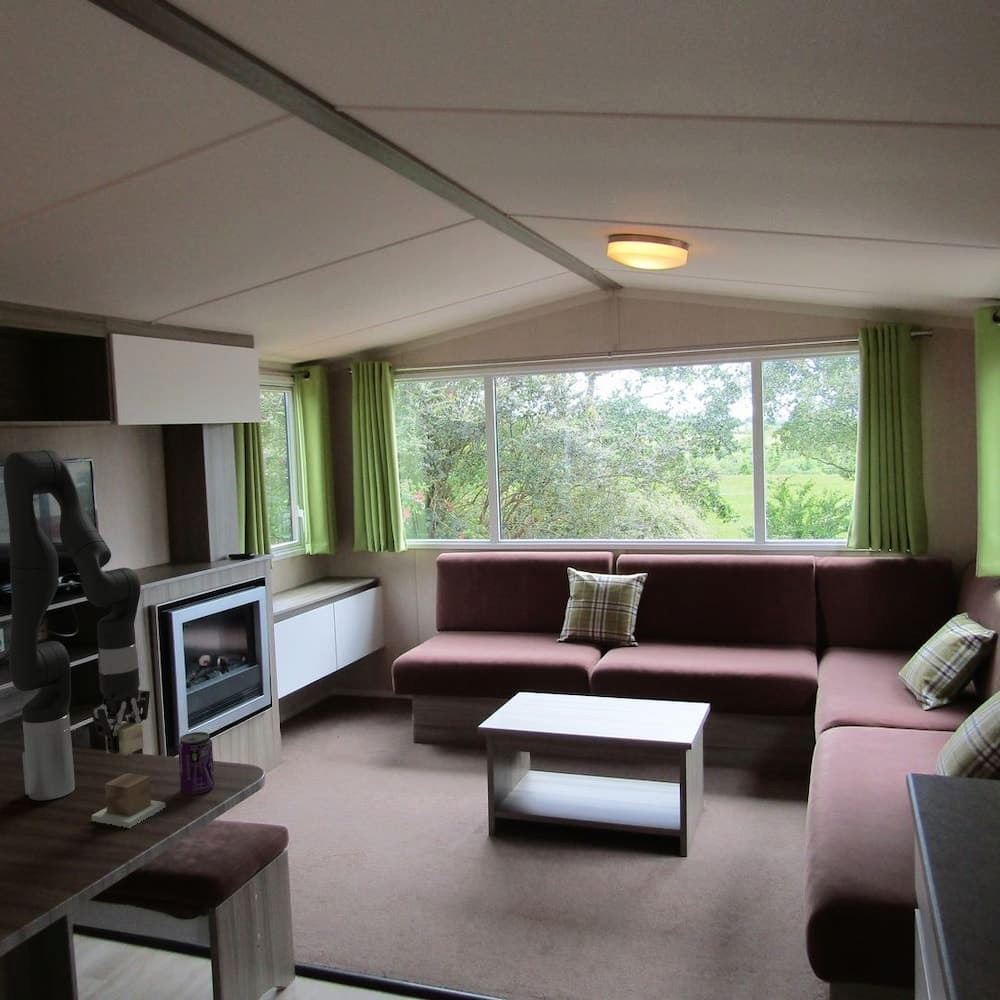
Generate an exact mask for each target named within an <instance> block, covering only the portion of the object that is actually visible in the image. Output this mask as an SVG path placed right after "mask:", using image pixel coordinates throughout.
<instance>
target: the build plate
mask: <svg viewBox="0 0 1000 1000" xmlns="http://www.w3.org/2000/svg"><path fill="white" fill-rule="evenodd" d="M163 808H165V809H166V801H165V802H163V801H158V800H152V799H151V805H149V806H148V807H146V808H144V809H142V810H140V811H138V812H137V813H135V814H133V815H131V816H124V815H119V814H114V813H109V812H107V807H105V808H103V809H101V810H99V811H97V812H95V813H94V814H91V821H92V822H95V821H96V823H99V824H105V823H106V825H110V824H112V826H115V825H116V826H117V827H121V826H123V827H122V828H126V827H127V829H131V828H133V827H135V826H136V825H138V824H139V823H142V822H144V821H146V820H147V819H149V818H150V816H151V817H152V816H154V815H156V814H157V812H158V813H160V812H161V811H163V810H164V809H163ZM162 809H163V810H162ZM160 810H161V811H160ZM155 813H156V814H155ZM148 817H149V818H148ZM146 818H147V819H146ZM143 820H144V821H143ZM141 821H142V822H141ZM137 823H138V824H137ZM134 825H135V826H134ZM132 826H133V827H132Z"/></svg>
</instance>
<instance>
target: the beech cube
mask: <svg viewBox="0 0 1000 1000" xmlns="http://www.w3.org/2000/svg"><path fill="white" fill-rule="evenodd" d="M112 728H113V725H112V726H111V729H112ZM117 735H118V737H119V753H117V754H116V755H118V756H128V755H131V754H132V753H134V752H136V751H138V750H141V749H143V748H144V747H145V746H144V736H143V735H144V733H143V723H142V722H141V723H133V722H128V721H127V720H126V721H125V720H124V721H123V720H122V723H121V724H120V725H119V729H118V734H117ZM104 736H105V735H104ZM105 749H106V754H112V755H113V754H114V753H110V752H109V751H108V749H107V737H106V736H105ZM114 755H115V754H114Z"/></svg>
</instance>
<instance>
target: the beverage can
mask: <svg viewBox="0 0 1000 1000" xmlns="http://www.w3.org/2000/svg"><path fill="white" fill-rule="evenodd" d="M177 751H178V752H177V753H178V765H179V767H178V768H179V782H180V783H179V784H180V790H181V791H182V792H183V793H187V794H188V793H189V795H199V794H198V793H200V794H204V793H206V792H208V791H209V790H211V789H212V788H214V787H215V783H216V782H215V771H214V770H215V769H214V766H215V765H214V755H213V754H214V753H213V741H212V740H211V738H210V734H209V733H208V732H205V731H204V732H203V731H195V732H194V731H193V732H189V733H185V734H184V735H182V736H180V737H179V743H178V746H177ZM203 792H204V793H203Z"/></svg>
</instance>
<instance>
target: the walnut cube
mask: <svg viewBox="0 0 1000 1000" xmlns="http://www.w3.org/2000/svg"><path fill="white" fill-rule="evenodd" d="M104 788H105V790H104V791H105V792H104V793H105V802H106V808H107V812H109V813H114V814H119V815H124V816H131V815H133V814H135V813H137V812H138V811H140V810H142V809H144V808H146V807H148V806H149V805H151V800H152V799H151V798H152V797H151V787H150V776H147V775H140V774H135V773H130V772H129V773H127V772H126V773H124V774H123V775H120V776H118V777H116V778H114V779H111V780H110V781H108V782H106V783H104Z"/></svg>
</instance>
